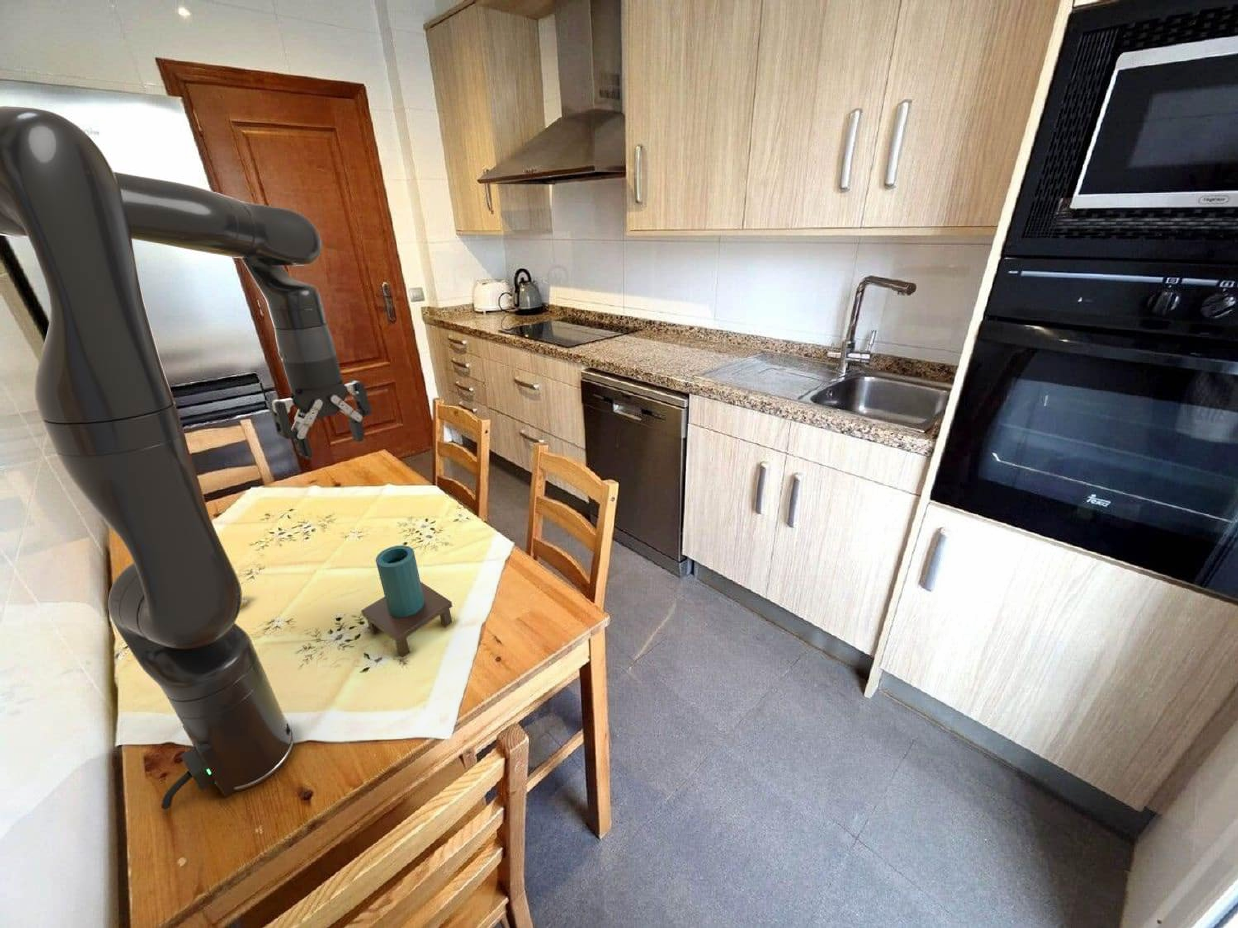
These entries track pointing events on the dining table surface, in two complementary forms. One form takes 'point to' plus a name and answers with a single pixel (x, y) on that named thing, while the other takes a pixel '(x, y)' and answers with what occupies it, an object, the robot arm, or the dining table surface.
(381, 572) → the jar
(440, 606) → the stand
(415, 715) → the dining table surface
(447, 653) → the dining table surface
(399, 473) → the dining table surface
